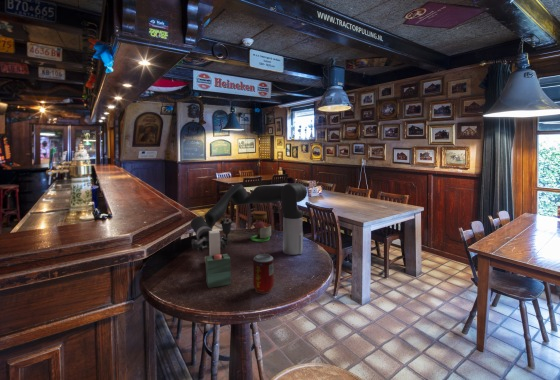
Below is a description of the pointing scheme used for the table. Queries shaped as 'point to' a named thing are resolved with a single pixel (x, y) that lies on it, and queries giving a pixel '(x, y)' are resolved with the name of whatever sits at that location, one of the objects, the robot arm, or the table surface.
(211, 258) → the rail
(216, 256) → the red rounded capsule
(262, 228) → the toy burger
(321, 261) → the table surface
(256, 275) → the soda can
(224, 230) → the sundae
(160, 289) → the table surface
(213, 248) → the carriage
